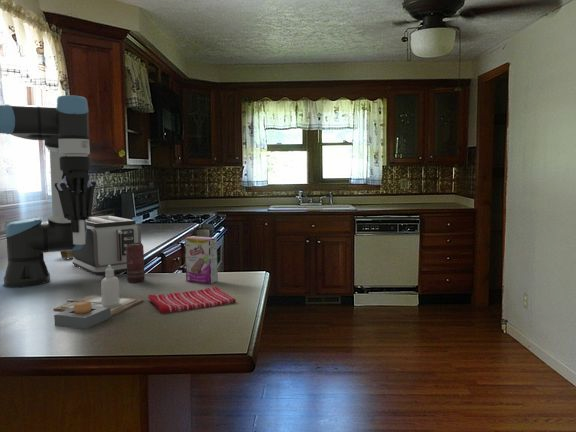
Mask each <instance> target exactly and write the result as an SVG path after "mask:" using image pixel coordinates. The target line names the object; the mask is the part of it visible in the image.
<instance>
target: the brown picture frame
mask: <svg viewBox="0 0 576 432" xmlns="http://www.w3.org/2000/svg"><path fill="white" fill-rule="evenodd" d="M119 297H120V296H119ZM83 301H89V302H91V305H92V306H102V296H101V295H97V294H90V295H87V296H84V297H81V298H70V299H69V298H68V299H67V300H66V302H67V303H64V304H62V305H58V306H56V307H54V308H53V311H54V312H55V311H56V312H62V311H65V310H68V309H70V308H73V307H74V304H75V303H77V302H83ZM144 302H145V300H144V299H142V298H130V297H120V302H119V303H117V304H115V305H112V306H102V307H110V311H111V317H112V316H114V315H116V314H119V313H121V312H123V311H125V310H128V309H130V308H132V307H134V306H136V305H139V304H141V303H144Z"/></svg>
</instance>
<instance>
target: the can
mask: <svg viewBox="0 0 576 432" xmlns="http://www.w3.org/2000/svg"><path fill="white" fill-rule="evenodd" d="M126 261H127V271H126V279H127V281H128V283H131V284H133V283H134V284H136V283H142V282H144V281H145V279H146V278H145V257H144V245H143V243H142V242H141V243H130V244H127V246H126Z"/></svg>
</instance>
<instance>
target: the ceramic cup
mask: <svg viewBox="0 0 576 432" xmlns="http://www.w3.org/2000/svg"><path fill="white" fill-rule="evenodd" d="M59 253H60V255H61V259H62V258H74V257H73V255H72V253H71V251H59Z"/></svg>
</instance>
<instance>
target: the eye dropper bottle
mask: <svg viewBox="0 0 576 432" xmlns="http://www.w3.org/2000/svg"><path fill="white" fill-rule="evenodd" d="M100 288H101V289H100V292H101V294H100V296H102V306H112V305H115V304H117V303H119V302H120V281H119V278H118V277H117V276H115V273H114V269H112V268H111V265H108V268H107V269H106V270H105V277H104V278H103V279H102V280H101V282H100Z"/></svg>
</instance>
